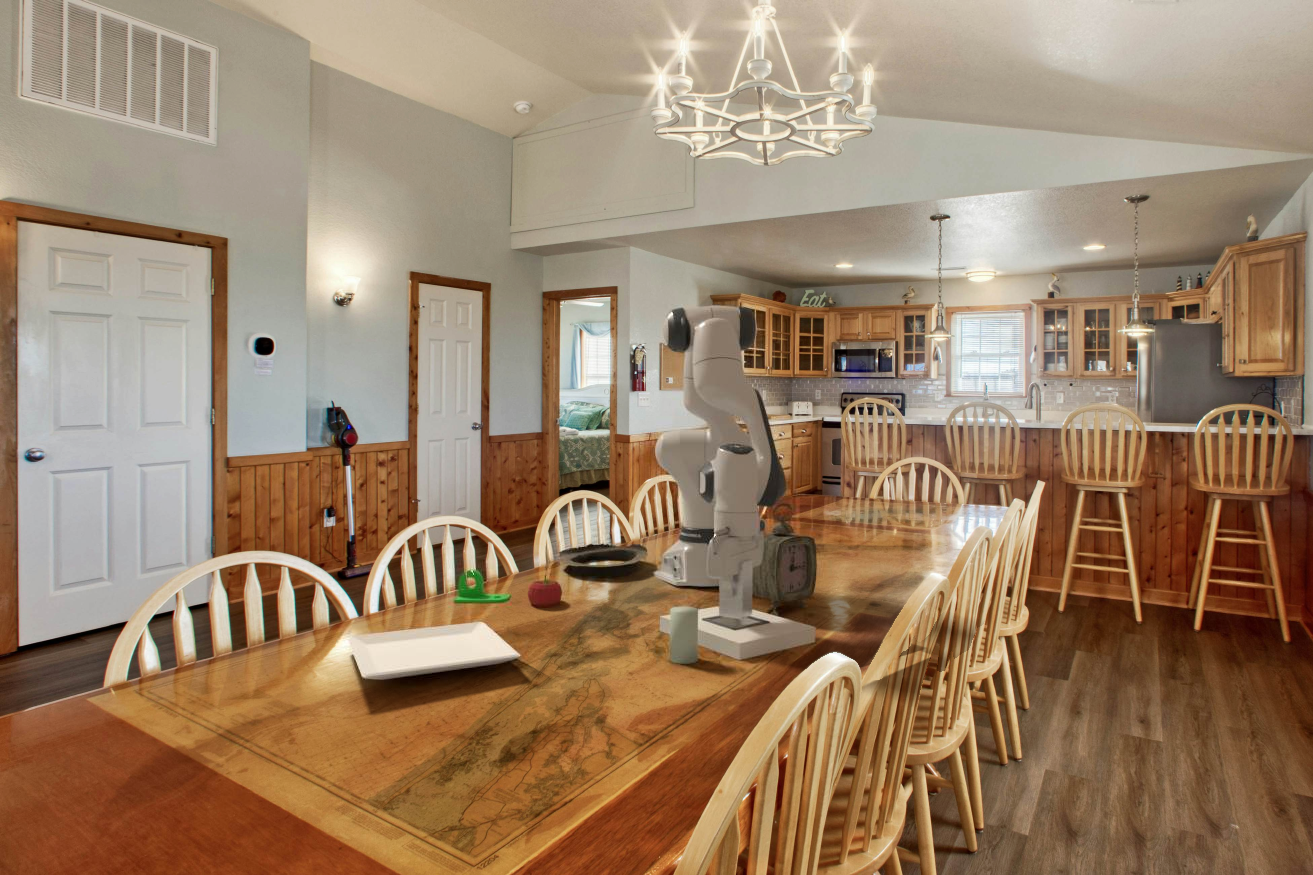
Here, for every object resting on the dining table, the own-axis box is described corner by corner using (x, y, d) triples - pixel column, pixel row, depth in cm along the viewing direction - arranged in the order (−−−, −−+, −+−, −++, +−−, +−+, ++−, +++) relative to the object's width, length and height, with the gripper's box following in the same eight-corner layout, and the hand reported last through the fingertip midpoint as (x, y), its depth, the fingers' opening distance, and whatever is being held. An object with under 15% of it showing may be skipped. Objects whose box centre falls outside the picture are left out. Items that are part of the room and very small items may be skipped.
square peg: (719, 615, 150) (719, 560, 149) (729, 610, 154) (729, 557, 154) (742, 619, 147) (742, 563, 147) (752, 613, 151) (752, 559, 151)
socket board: (659, 630, 154) (659, 614, 154) (732, 617, 166) (732, 602, 166) (739, 659, 135) (739, 641, 135) (815, 642, 147) (815, 625, 147)
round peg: (664, 658, 136) (664, 608, 136) (685, 653, 139) (686, 605, 139) (681, 665, 132) (681, 614, 132) (703, 660, 135) (703, 610, 135)
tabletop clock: (775, 621, 163) (776, 506, 163) (744, 613, 170) (745, 503, 169) (816, 611, 172) (817, 502, 172) (785, 604, 179) (786, 499, 179)
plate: (362, 688, 120) (362, 675, 120) (346, 646, 143) (346, 635, 143) (521, 666, 132) (521, 654, 132) (483, 630, 155) (483, 620, 155)
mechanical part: (454, 608, 173) (454, 573, 173) (460, 602, 179) (460, 569, 179) (506, 608, 174) (506, 573, 174) (510, 602, 180) (510, 569, 180)
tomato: (565, 604, 177) (565, 572, 177) (557, 612, 169) (558, 578, 169) (532, 603, 178) (532, 571, 178) (523, 611, 170) (523, 577, 170)
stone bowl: (608, 570, 223) (608, 538, 223) (668, 582, 205) (668, 548, 205) (539, 581, 205) (539, 547, 205) (598, 596, 187) (599, 558, 187)
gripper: (729, 532, 140) (728, 606, 140) (769, 521, 158) (768, 587, 158) (698, 529, 143) (698, 602, 143) (741, 519, 161) (741, 584, 161)
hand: (735, 594), depth 150 cm, fingers closed on square peg, 5 cm apart
